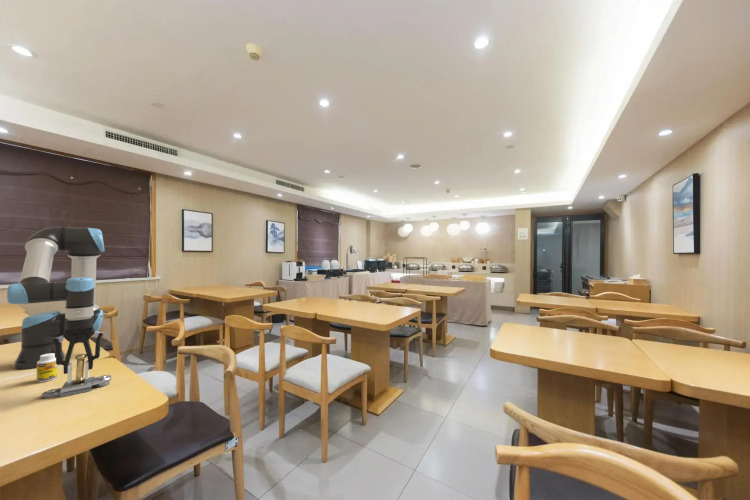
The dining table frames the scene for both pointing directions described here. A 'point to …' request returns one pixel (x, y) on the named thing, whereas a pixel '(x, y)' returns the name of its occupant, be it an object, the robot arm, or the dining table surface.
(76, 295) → the robot arm
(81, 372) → the pin
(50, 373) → the supplement bottle
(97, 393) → the dining table surface
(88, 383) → the grey metal link plate
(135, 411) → the dining table surface
